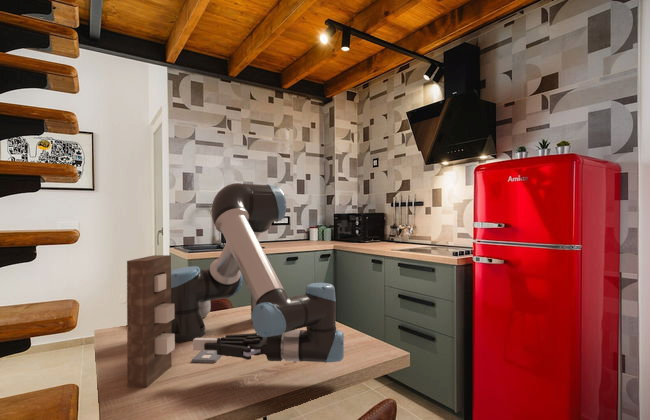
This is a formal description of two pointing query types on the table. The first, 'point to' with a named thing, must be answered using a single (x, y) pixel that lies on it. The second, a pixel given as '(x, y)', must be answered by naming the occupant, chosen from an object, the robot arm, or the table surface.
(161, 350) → the bottom key
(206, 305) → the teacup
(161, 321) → the middle key
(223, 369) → the table surface
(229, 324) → the table surface
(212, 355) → the pattern card
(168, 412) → the table surface
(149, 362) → the switch panel
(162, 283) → the top key
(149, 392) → the table surface
